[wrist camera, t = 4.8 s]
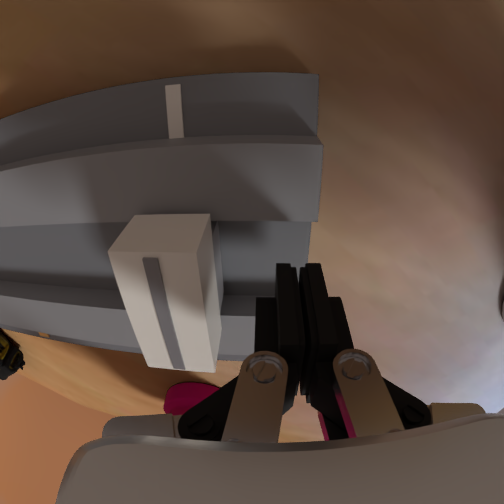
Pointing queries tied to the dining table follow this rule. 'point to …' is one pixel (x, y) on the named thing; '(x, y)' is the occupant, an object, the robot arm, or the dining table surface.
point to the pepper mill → (186, 396)
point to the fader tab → (172, 288)
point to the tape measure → (9, 358)
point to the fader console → (155, 195)
